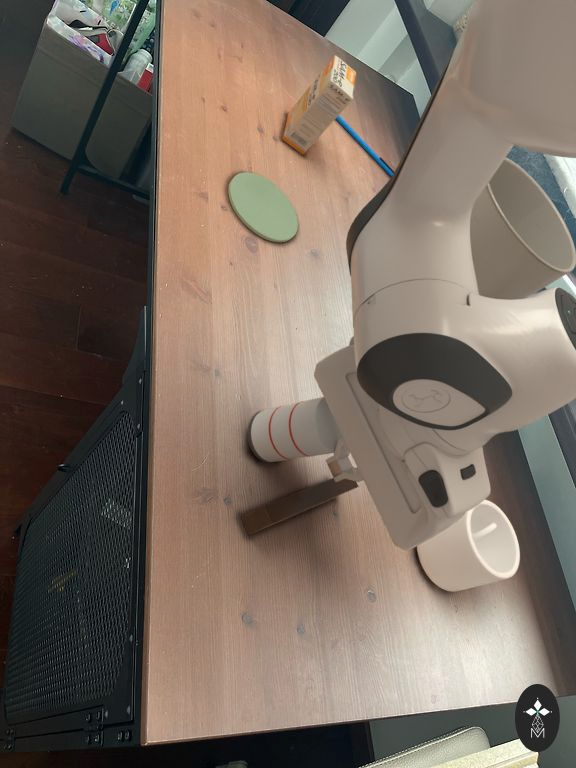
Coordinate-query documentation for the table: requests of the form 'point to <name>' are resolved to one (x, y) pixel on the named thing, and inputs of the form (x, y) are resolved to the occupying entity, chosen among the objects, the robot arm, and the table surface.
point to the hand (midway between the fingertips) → (334, 469)
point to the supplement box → (320, 105)
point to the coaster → (263, 207)
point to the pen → (366, 146)
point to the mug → (472, 550)
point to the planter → (517, 237)
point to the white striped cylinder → (293, 431)
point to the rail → (295, 504)
